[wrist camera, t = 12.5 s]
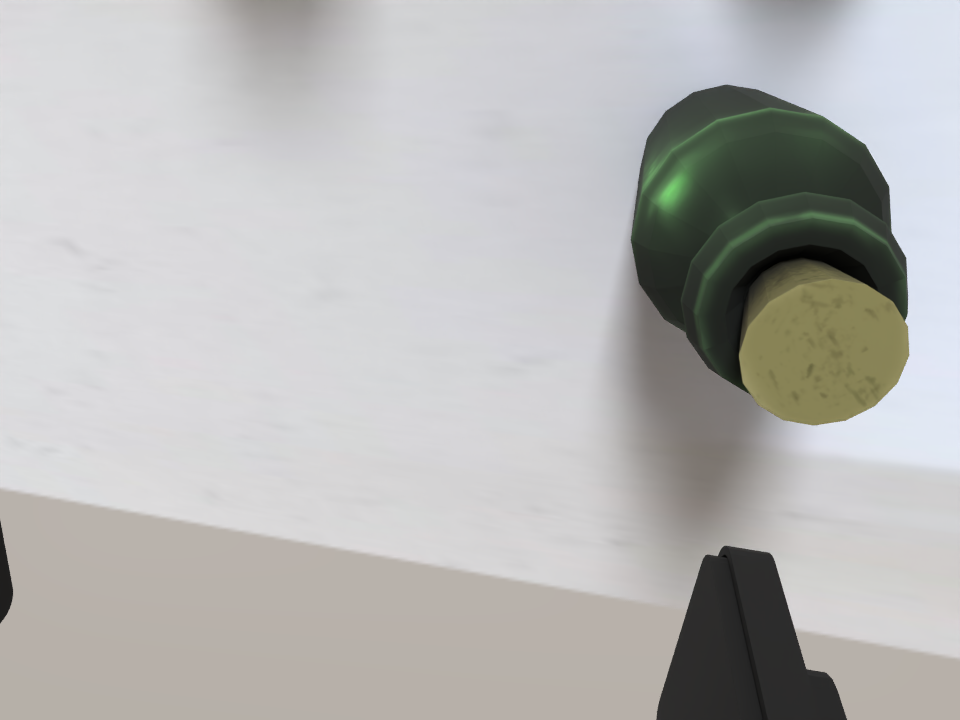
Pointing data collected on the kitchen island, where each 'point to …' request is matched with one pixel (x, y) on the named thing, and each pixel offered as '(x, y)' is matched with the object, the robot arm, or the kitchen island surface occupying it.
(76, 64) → the kitchen island surface
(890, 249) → the potion bottle
